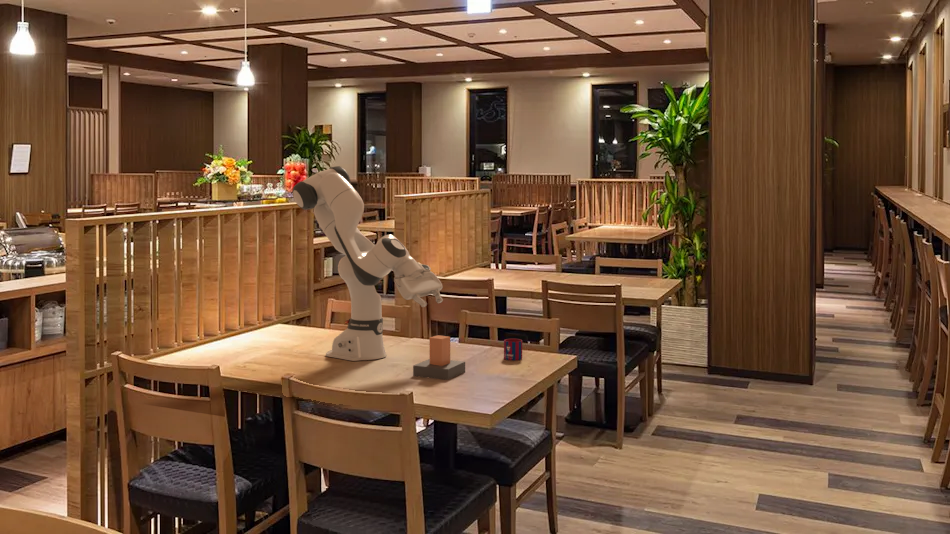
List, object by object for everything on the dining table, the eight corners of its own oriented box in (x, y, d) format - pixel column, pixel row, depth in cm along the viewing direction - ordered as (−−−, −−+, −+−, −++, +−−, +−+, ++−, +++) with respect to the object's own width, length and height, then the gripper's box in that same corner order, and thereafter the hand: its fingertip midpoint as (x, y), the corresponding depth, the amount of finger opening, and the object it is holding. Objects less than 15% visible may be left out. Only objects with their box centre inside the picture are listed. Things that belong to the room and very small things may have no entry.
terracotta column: (429, 363, 291) (429, 337, 290) (438, 361, 296) (438, 335, 295) (441, 365, 289) (441, 339, 288) (450, 363, 293) (450, 336, 292)
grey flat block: (413, 377, 289) (413, 365, 289) (431, 369, 301) (431, 358, 301) (448, 381, 284) (448, 369, 283) (465, 373, 296) (465, 361, 295)
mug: (500, 359, 316) (500, 340, 315) (514, 354, 324) (514, 336, 324) (516, 361, 312) (516, 342, 312) (530, 356, 321) (530, 338, 320)
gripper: (396, 271, 294) (420, 302, 290) (431, 265, 311) (454, 294, 307) (386, 283, 297) (409, 314, 293) (421, 276, 314) (444, 305, 310)
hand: (433, 303), depth 300 cm, fingers open, 8 cm apart
